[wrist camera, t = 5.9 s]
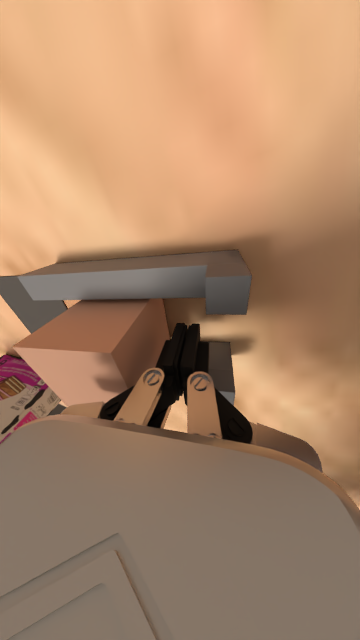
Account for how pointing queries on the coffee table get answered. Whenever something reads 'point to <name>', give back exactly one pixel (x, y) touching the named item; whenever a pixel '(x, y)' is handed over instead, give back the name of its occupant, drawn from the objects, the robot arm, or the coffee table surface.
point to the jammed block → (97, 347)
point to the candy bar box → (22, 395)
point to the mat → (29, 304)
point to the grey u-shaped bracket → (157, 289)
